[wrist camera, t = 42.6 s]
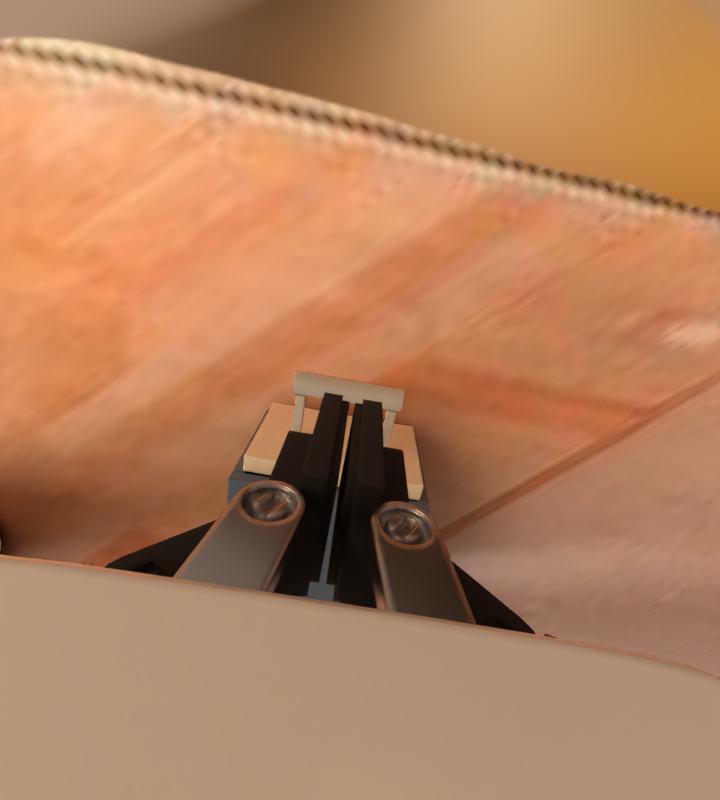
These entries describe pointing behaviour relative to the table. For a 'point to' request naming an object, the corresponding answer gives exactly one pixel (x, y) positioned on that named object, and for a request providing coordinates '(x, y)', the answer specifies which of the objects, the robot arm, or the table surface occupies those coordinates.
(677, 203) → the table surface
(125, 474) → the table surface
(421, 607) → the robot arm
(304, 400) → the drawer
